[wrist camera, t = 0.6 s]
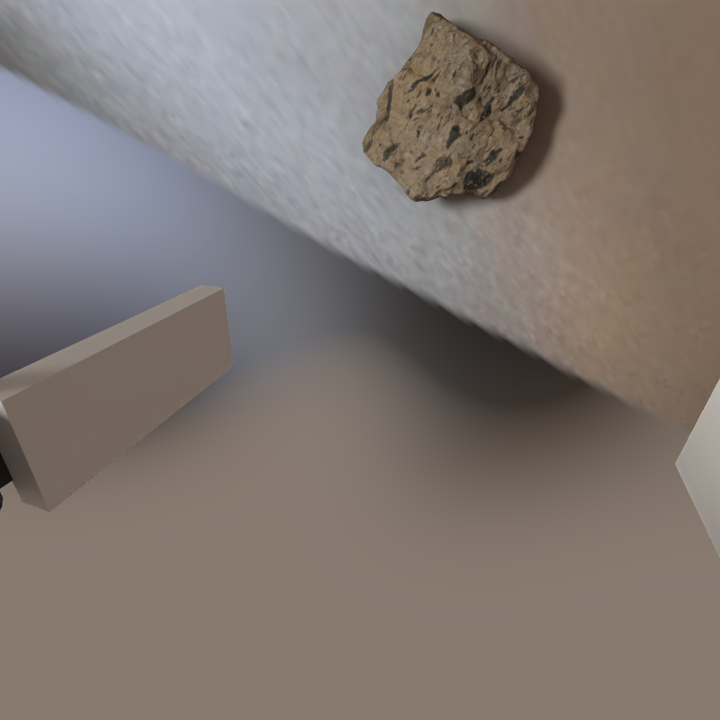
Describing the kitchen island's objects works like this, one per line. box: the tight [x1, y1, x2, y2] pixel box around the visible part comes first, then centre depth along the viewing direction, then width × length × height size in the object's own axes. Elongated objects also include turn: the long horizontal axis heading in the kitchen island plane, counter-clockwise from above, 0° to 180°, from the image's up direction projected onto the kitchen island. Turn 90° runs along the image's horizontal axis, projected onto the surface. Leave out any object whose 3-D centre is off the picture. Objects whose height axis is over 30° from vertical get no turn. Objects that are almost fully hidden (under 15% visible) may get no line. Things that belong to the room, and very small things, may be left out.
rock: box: [362, 12, 539, 202], centre depth 32 cm, size 11×12×4 cm
